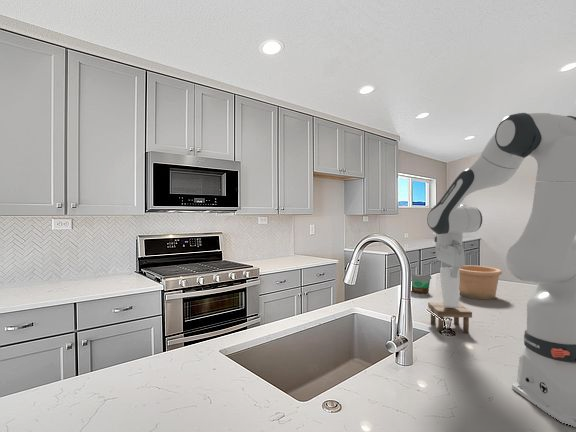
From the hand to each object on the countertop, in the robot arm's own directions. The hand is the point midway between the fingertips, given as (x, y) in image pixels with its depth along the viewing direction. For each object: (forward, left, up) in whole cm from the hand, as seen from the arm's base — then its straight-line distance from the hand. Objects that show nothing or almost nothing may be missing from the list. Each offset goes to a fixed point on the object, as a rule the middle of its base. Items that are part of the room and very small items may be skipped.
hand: (449, 275), depth 130 cm
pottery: (+52, -33, -21) cm, 65 cm away
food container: (+54, -4, -21) cm, 58 cm away
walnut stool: (0, 0, -21) cm, 21 cm away
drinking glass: (-2, 0, -12) cm, 12 cm away
